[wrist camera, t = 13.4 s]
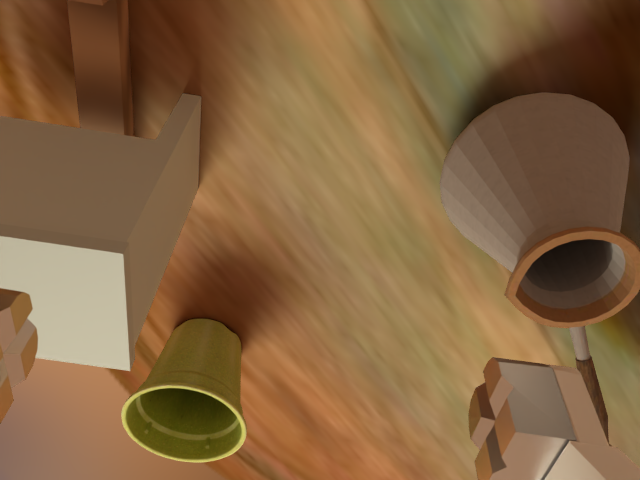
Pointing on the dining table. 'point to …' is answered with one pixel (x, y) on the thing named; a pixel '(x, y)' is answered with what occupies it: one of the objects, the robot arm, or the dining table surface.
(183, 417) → the plant pot
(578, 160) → the coffee pot
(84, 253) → the grey cube on pedestal
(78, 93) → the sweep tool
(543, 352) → the dining table surface
